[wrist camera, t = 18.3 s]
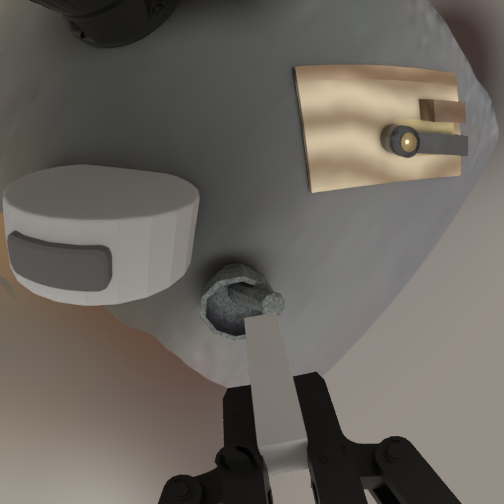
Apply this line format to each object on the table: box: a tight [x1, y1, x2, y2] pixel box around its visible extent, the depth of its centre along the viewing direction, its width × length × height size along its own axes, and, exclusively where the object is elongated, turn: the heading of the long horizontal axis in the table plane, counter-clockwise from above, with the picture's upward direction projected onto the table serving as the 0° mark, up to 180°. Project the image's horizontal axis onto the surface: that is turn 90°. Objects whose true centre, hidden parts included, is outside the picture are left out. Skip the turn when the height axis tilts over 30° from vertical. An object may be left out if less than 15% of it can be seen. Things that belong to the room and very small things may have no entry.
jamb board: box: [293, 65, 466, 193], centre depth 33 cm, size 16×25×5 cm, turn 99°
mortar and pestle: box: [200, 263, 284, 340], centre depth 38 cm, size 11×9×12 cm
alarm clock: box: [3, 164, 200, 306], centre depth 28 cm, size 21×8×20 cm, turn 78°
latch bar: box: [381, 124, 468, 158], centre depth 33 cm, size 13×4×4 cm, turn 95°
